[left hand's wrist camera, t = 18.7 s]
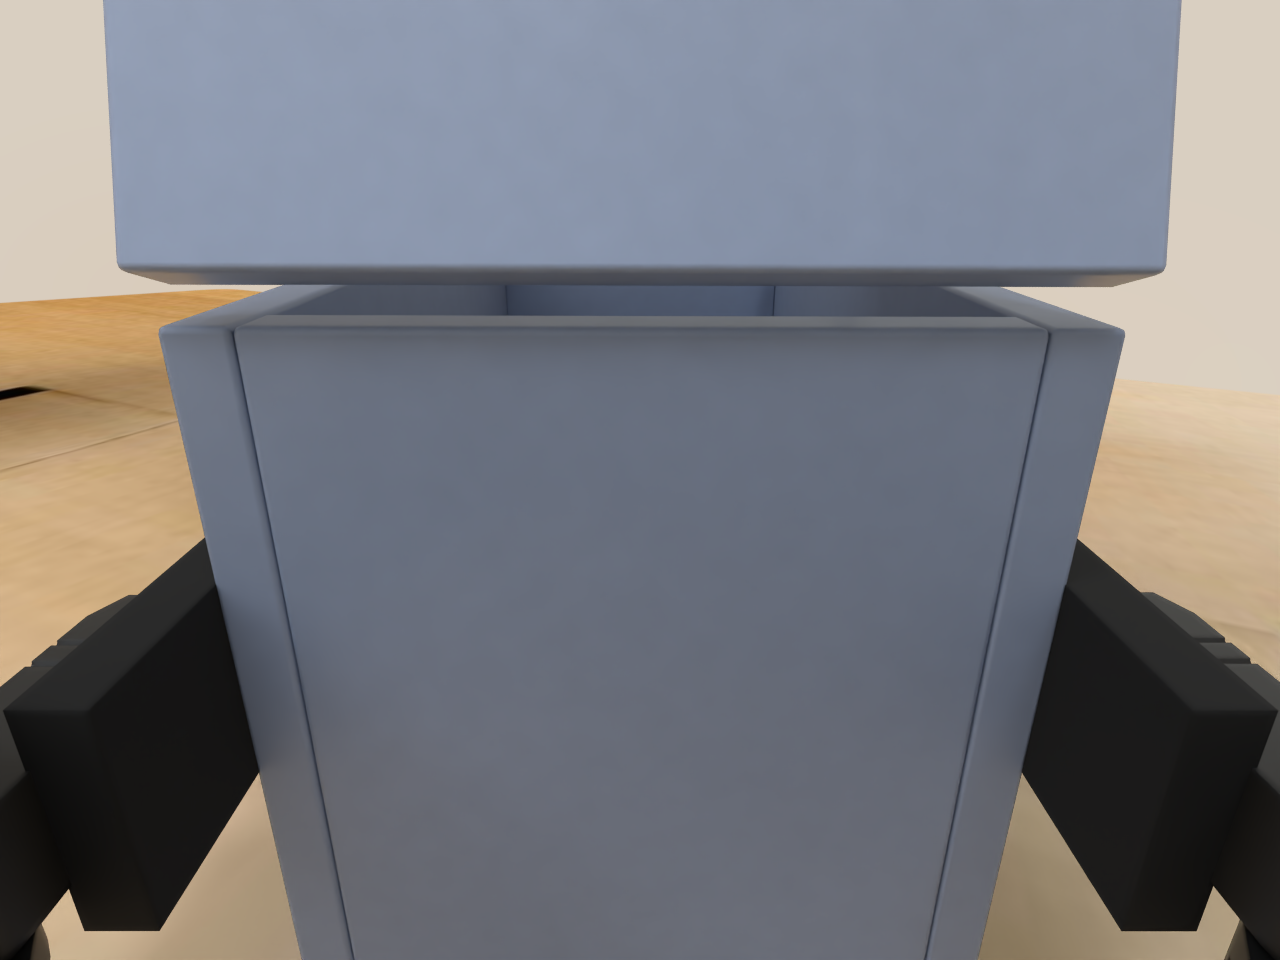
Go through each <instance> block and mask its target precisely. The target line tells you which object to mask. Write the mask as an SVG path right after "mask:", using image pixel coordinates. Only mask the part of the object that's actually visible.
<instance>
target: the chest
mask: <svg viewBox="0 0 1280 960" xmlns="http://www.w3.org/2000/svg"><path fill="white" fill-rule="evenodd" d="M159 338H160V343H161V347H162V352H163V356H164V360H165V365H166V369H167V373H168V378H169V382H170V386H171V391H172V395H173V400H174V404H175V408H176V413H177V417H178V421H179V426H180V430H181V434H182V439H183V443H184V448H185V452H186V456H187V461H188V465H189V469H190V474H191V478H192V482H193V487H194V491H195V496H196V500H197V504H198V509H199V513H200V517H201V522H202V526H203V530H204V535H205V539H206V544H207V548H208V552H209V557H210V561H211V565H212V570H213V574H214V578H215V583H216V586H217V591H218V595H219V599H220V604H221V608H222V612H223V617H224V621H225V625H226V629H227V634H228V638H229V642H230V647H231V651H232V655H233V660H234V664H235V668H236V673H237V677H238V681H239V686H240V690H241V694H242V699H243V703H244V707H245V712H246V716H247V720H248V725H249V729H250V733H251V738H252V742H253V746H254V751H255V755H256V759H257V764H258V768H259V775H260V779H261V784H262V788H263V792H264V797H265V801H266V805H267V810H268V814H269V818H270V823H271V827H272V832H273V836H274V840H275V845H276V849H277V853H278V858H279V862H280V866H281V871H282V875H283V880H284V884H285V888H286V893H287V897H288V901H289V906H290V910H291V914H292V919H293V923H294V928H295V932H296V936H297V941H298V945H299V949H300V954H301V958H302V960H978V956H979V952H980V947H981V943H982V939H983V935H984V930H985V926H986V922H987V918H988V914H989V909H990V905H991V901H992V897H993V892H994V888H995V884H996V880H997V875H998V871H999V867H1000V863H1001V858H1002V854H1003V850H1004V846H1005V842H1006V837H1007V833H1008V829H1009V825H1010V820H1011V816H1012V812H1013V808H1014V803H1015V799H1016V795H1017V791H1018V787H1019V782H1020V778H1021V774H1022V768H1023V764H1024V760H1025V755H1026V751H1027V747H1028V743H1029V738H1030V734H1031V730H1032V725H1033V721H1034V717H1035V713H1036V708H1037V704H1038V700H1039V695H1040V691H1041V687H1042V683H1043V678H1044V674H1045V670H1046V666H1047V661H1048V657H1049V653H1050V648H1051V644H1052V640H1053V636H1054V631H1055V627H1056V623H1057V618H1058V614H1059V610H1060V606H1061V601H1062V597H1063V593H1064V588H1065V585H1066V583H1067V579H1068V575H1069V571H1070V567H1071V562H1072V558H1073V554H1074V550H1075V545H1076V541H1077V537H1078V533H1079V528H1080V524H1081V520H1082V516H1083V512H1084V507H1085V503H1086V499H1087V495H1088V490H1089V486H1090V482H1091V478H1092V473H1093V469H1094V465H1095V461H1096V457H1097V452H1098V448H1099V444H1100V440H1101V435H1102V431H1103V427H1104V423H1105V418H1106V414H1107V410H1108V406H1109V401H1110V397H1111V393H1112V389H1113V385H1114V380H1115V376H1116V372H1117V368H1118V363H1119V359H1120V355H1121V351H1122V346H1123V342H1124V338H1125V332H1124V330H1122V329H1120V328H1118V327H1115V326H1112V325H1109V324H1106V323H1103V322H1100V321H1097V320H1094V319H1091V318H1088V317H1086V316H1083V315H1080V314H1077V313H1074V312H1071V311H1068V310H1065V309H1062V308H1059V307H1057V306H1054V305H1051V304H1048V303H1045V302H1042V301H1039V300H1036V299H1033V298H1030V297H1027V296H1024V295H1022V294H1019V293H1016V292H1013V291H1010V290H1007V289H1004V288H1001V287H931V286H562V285H282V286H280V287H277V288H274V289H271V290H268V291H265V292H262V293H259V294H256V295H253V296H250V297H247V298H244V299H241V300H238V301H235V302H232V303H230V304H227V305H224V306H221V307H218V308H215V309H212V310H209V311H206V312H203V313H200V314H197V315H194V316H191V317H188V318H186V319H183V320H180V321H177V322H174V323H171V324H168V325H165V326H163V327H161V328H160V329H159Z"/></svg>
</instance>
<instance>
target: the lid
mask: <svg viewBox="0 0 1280 960" xmlns="http://www.w3.org/2000/svg"><path fill="white" fill-rule="evenodd" d="M103 6H104V25H105V44H106V63H107V82H108V101H109V120H110V139H111V158H112V177H113V196H114V215H115V233H116V252H117V263H118V266H119V268H120V269H121V270H123V271H125V272H128V273H131V274H135V275H138V276H142V277H146V278H149V279H153V280H156V281H160V282H164V283H167V284H193V285H194V284H195V285H198V284H199V285H562V286H931V287H1114V286H1118V285H1121V284H1125V283H1129V282H1132V281H1136V280H1140V279H1143V278H1147V277H1151V276H1155V275H1157V274H1160V273H1162V272H1163V271H1164V269H1165V267H1166V258H1167V241H1168V224H1169V207H1170V189H1171V172H1172V155H1173V137H1174V121H1175V103H1176V86H1177V69H1178V52H1179V34H1180V18H1181V0H103Z"/></svg>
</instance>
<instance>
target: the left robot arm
mask: <svg viewBox="0 0 1280 960" xmlns="http://www.w3.org/2000/svg"><path fill="white" fill-rule="evenodd" d="M258 773H259V768H258V764H257V759H256V755H255V751H254V746H253V742H252V738H251V733H250V729H249V725H248V720H247V716H246V712H245V707H244V703H243V699H242V694H241V690H240V686H239V681H238V677H237V673H236V668H235V664H234V660H233V655H232V651H231V647H230V642H229V638H228V634H227V629H226V625H225V621H224V617H223V612H222V608H221V604H220V599H219V595H218V591H217V586H216V583H215V578H214V574H213V570H212V565H211V561H210V557H209V552H208V548H207V544H206V539H205V538H204V539H203V540H201V541H200V542H199V543H198V544H197V545H196V546H194V547H193V548H192V549H191V550H190V551H189V552H187V553H186V554H185V555H184V556H183V557H182V558H180V559H179V560H178V561H177V562H176V563H175V564H173V565H172V566H171V567H170V568H169V569H168V570H166V571H165V572H164V573H163V574H162V575H160V576H159V577H158V578H157V579H156V580H155V581H153V582H152V583H151V584H150V585H149V586H148V587H146V588H145V589H144V590H143V591H142V592H141V593H139V594H138V595H128V596H126V597H124V598H122V599H120V600H118V601H116V602H114V603H112V604H110V605H108V606H106V607H104V608H102V609H100V610H98V611H96V612H94V613H92V614H90V615H88V616H87V617H86V618H84V619H83V620H82V621H81V622H79V623H78V624H77V625H76V626H75V627H73V628H72V629H71V630H70V631H68V632H67V633H66V634H65V635H64V636H62V637H61V638H60V639H59V640H57V645H56V646H50V647H49V648H48V649H46V650H45V651H44V652H43V653H41V654H40V655H39V656H38V657H37V658H35V659H34V660H33V661H32V665H31V667H24V668H23V669H22V670H21V671H19V672H18V673H17V674H16V675H14V676H13V677H12V678H11V679H10V680H8V681H7V682H6V683H5V684H3V685H2V686H1V687H0V960H50V951H49V944H48V939H47V936H46V934H45V931H44V929H43V926H42V924H41V923H42V922H43V921H44V919H45V918H46V917H47V916H48V914H49V913H50V912H51V910H52V909H53V908H54V907H55V905H56V904H57V903H58V902H59V900H60V899H61V898H62V897H63V895H64V894H65V893H66V891H67V890H68V889H69V890H70V893H71V896H72V899H73V901H74V904H75V907H76V909H77V912H78V915H79V917H80V920H81V923H82V925H83V928H84V931H160V929H161V928H162V926H163V924H164V923H165V921H166V920H167V918H168V917H169V915H170V913H171V912H172V910H173V909H174V907H175V905H176V904H177V902H178V901H179V899H180V897H181V896H182V894H183V893H184V891H185V889H186V888H187V886H188V885H189V883H190V881H191V880H192V878H193V877H194V875H195V873H196V872H197V870H198V869H199V867H200V866H201V864H202V862H203V861H204V859H205V858H206V856H207V854H208V853H209V851H210V850H211V848H212V846H213V845H214V843H215V842H216V840H217V838H218V837H219V835H220V834H221V832H222V830H223V829H224V827H225V826H226V824H227V823H228V821H229V819H230V818H231V816H232V815H233V813H234V811H235V810H236V808H237V807H238V805H239V803H240V802H241V800H242V799H243V797H244V795H245V794H246V792H247V791H248V789H249V787H250V786H251V784H252V783H253V781H254V779H255V778H256V776H257V775H258ZM1022 773H1023V775H1024V777H1025V778H1026V780H1027V781H1028V783H1029V785H1030V786H1031V788H1032V789H1033V791H1034V792H1035V794H1036V796H1037V797H1038V799H1039V800H1040V802H1041V804H1042V805H1043V807H1044V808H1045V810H1046V812H1047V813H1048V815H1049V816H1050V818H1051V820H1052V821H1053V823H1054V824H1055V826H1056V828H1057V829H1058V831H1059V832H1060V834H1061V835H1062V837H1063V839H1064V840H1065V842H1066V843H1067V845H1068V847H1069V848H1070V850H1071V851H1072V853H1073V855H1074V856H1075V858H1076V859H1077V861H1078V863H1079V864H1080V866H1081V867H1082V869H1083V871H1084V872H1085V874H1086V875H1087V877H1088V878H1089V880H1090V882H1091V883H1092V885H1093V886H1094V888H1095V890H1096V891H1097V893H1098V894H1099V896H1100V898H1101V899H1102V901H1103V902H1104V904H1105V906H1106V907H1107V909H1108V910H1109V912H1110V914H1111V915H1112V917H1113V918H1114V920H1115V921H1116V923H1117V925H1118V926H1119V928H1120V929H1121V931H1197V928H1198V926H1199V923H1200V920H1201V918H1202V915H1203V912H1204V910H1205V907H1206V904H1207V902H1208V899H1209V896H1210V894H1211V891H1212V888H1213V886H1214V887H1215V888H1216V890H1217V891H1218V892H1219V893H1220V895H1221V896H1222V897H1223V898H1224V900H1225V901H1226V902H1227V903H1228V905H1229V906H1230V907H1231V908H1232V910H1233V911H1234V912H1235V914H1236V915H1237V916H1238V917H1239V919H1240V921H1239V924H1238V926H1237V929H1236V931H1235V934H1234V936H1233V939H1232V941H1231V944H1230V946H1229V949H1228V951H1227V954H1226V956H1225V959H1224V960H1280V682H1279V681H1278V680H1276V679H1275V678H1274V677H1273V676H1271V675H1270V674H1269V673H1268V672H1266V671H1265V670H1264V669H1263V668H1262V667H1260V666H1259V665H1258V664H1251V662H1250V658H1249V657H1248V656H1247V655H1245V654H1244V653H1243V652H1242V651H1241V650H1239V649H1238V648H1237V647H1236V646H1234V645H1233V644H1232V643H1226V642H1225V638H1224V637H1223V636H1222V635H1221V634H1219V633H1218V632H1217V631H1216V630H1215V629H1213V628H1212V627H1211V626H1210V625H1208V624H1207V623H1206V622H1205V621H1203V620H1202V619H1201V618H1200V617H1198V616H1197V615H1196V614H1195V613H1193V612H1191V611H1189V610H1187V609H1185V608H1183V607H1181V606H1179V605H1177V604H1175V603H1173V602H1171V601H1169V600H1167V599H1165V598H1163V597H1161V596H1159V595H1157V594H1155V593H1153V592H1139V591H1138V590H1137V589H1136V588H1134V587H1133V586H1132V585H1131V584H1130V583H1129V582H1127V581H1126V580H1125V579H1124V578H1123V577H1122V576H1120V575H1119V574H1118V573H1117V572H1116V571H1115V570H1113V569H1112V568H1111V567H1110V566H1109V565H1108V564H1106V563H1105V562H1104V561H1103V560H1102V559H1101V558H1099V557H1098V556H1097V555H1096V554H1095V553H1094V552H1092V551H1091V550H1090V549H1089V548H1088V547H1087V546H1085V545H1084V544H1083V543H1082V542H1081V541H1079V540H1078V539H1077V541H1076V545H1075V550H1074V554H1073V558H1072V562H1071V567H1070V571H1069V575H1068V579H1067V583H1066V585H1065V588H1064V593H1063V597H1062V601H1061V606H1060V610H1059V614H1058V618H1057V623H1056V627H1055V631H1054V636H1053V640H1052V644H1051V648H1050V653H1049V657H1048V661H1047V666H1046V670H1045V674H1044V678H1043V683H1042V687H1041V691H1040V695H1039V700H1038V704H1037V708H1036V713H1035V717H1034V721H1033V725H1032V730H1031V734H1030V738H1029V743H1028V747H1027V751H1026V755H1025V760H1024V764H1023V768H1022Z"/></svg>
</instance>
